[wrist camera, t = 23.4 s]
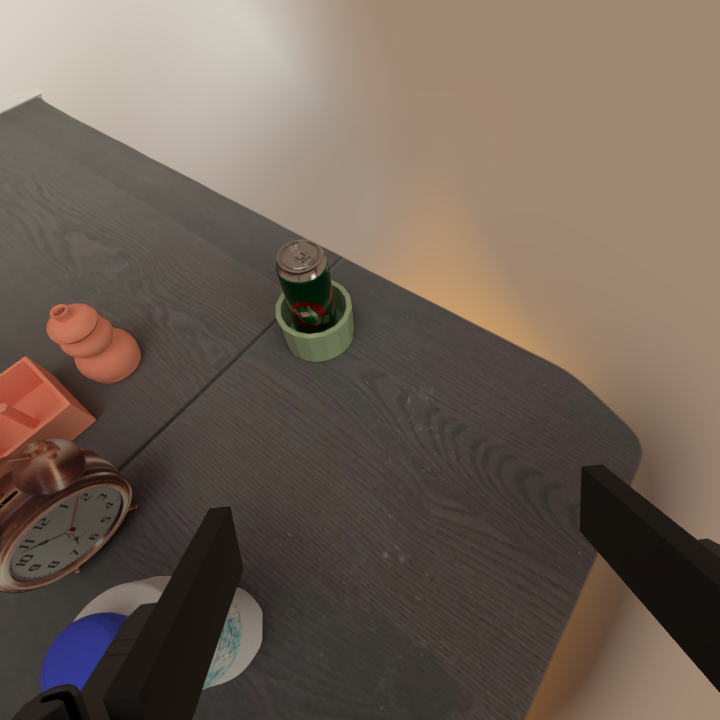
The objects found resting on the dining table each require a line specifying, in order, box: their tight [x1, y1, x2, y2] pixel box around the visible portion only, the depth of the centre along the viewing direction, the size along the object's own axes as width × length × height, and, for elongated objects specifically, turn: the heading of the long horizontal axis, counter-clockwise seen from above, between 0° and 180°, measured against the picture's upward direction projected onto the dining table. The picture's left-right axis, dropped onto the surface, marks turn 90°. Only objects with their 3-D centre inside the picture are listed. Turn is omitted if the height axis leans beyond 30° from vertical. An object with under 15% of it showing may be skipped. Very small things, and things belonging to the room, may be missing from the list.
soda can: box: [276, 240, 338, 334], centre depth 43 cm, size 5×5×12 cm
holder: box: [275, 280, 354, 362], centre depth 46 cm, size 8×8×5 cm
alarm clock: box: [0, 437, 138, 593], centre depth 31 cm, size 11×5×15 cm, turn 146°
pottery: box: [0, 303, 141, 478], centre depth 41 cm, size 18×10×10 cm, turn 141°
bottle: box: [41, 576, 263, 692], centre depth 25 cm, size 7×7×20 cm
